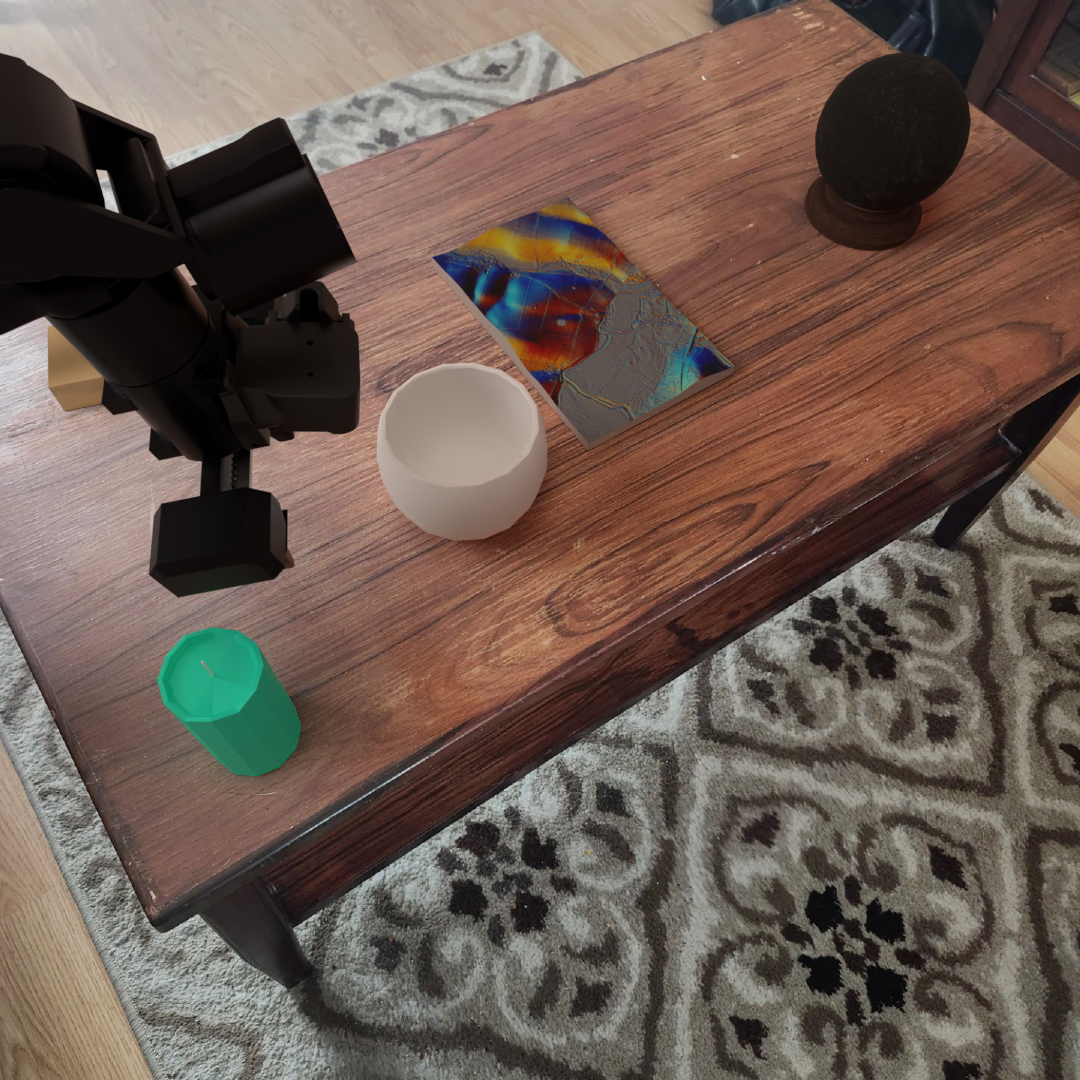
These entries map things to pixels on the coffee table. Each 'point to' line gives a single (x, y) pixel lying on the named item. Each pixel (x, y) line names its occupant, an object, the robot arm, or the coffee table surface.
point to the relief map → (581, 321)
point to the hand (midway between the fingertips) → (287, 500)
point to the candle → (230, 700)
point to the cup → (462, 450)
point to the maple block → (71, 374)
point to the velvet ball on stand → (886, 149)
